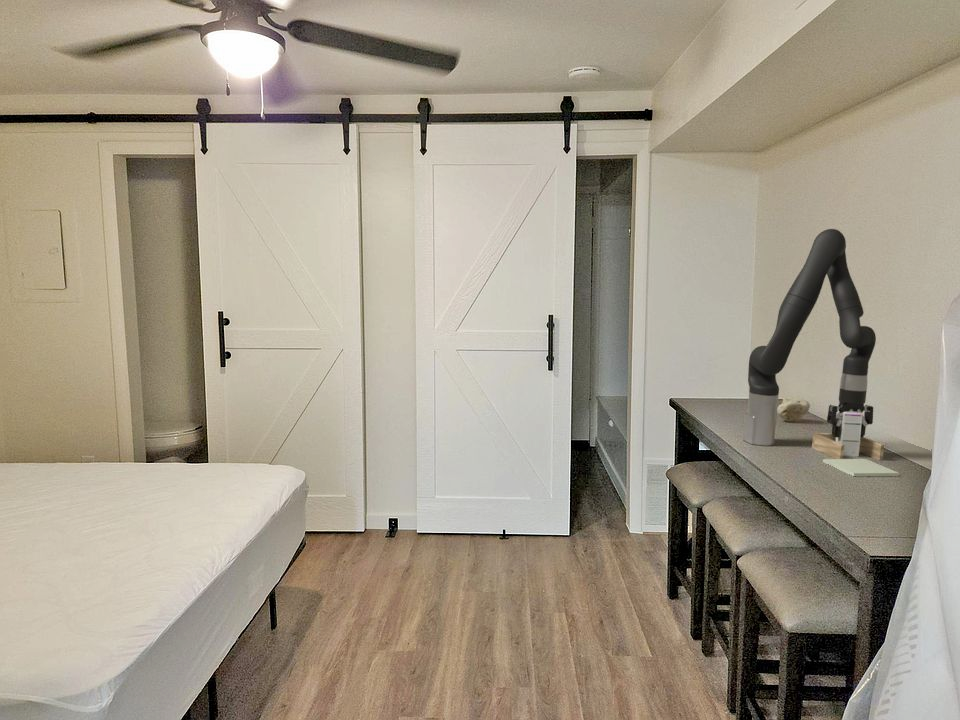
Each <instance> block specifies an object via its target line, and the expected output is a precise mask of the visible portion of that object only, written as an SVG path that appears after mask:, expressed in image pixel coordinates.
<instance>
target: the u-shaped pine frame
mask: <svg viewBox="0 0 960 720" xmlns="http://www.w3.org/2000/svg"><path fill="white" fill-rule="evenodd" d="M835 440H836V437H834V436H833V435H832V432H829V433H828V432H826V433H825V432H823V433H822V432H817V433H815V432H813V433H812V441H811V442H812V443H811V448H812V449H814V450H816V451H818V452H820V453H822V452H823V453H822V454H824V455H826V456H830V457H831V458H833V457H834V458H833V459H844V456H843V454H844V445H843V444H841V443H839V442H836V441H835ZM884 448H885V444H883V443H881V442H877V441H875V440H872V439H870V438H867V437H860V447H859V453H861V454H863V455H865V456H869V457H871V458H873V459H875V460H878V461H883V459H884V451H885V449H884Z"/></svg>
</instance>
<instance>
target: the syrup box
mask: <svg viewBox="0 0 960 720" xmlns="http://www.w3.org/2000/svg"><path fill="white" fill-rule="evenodd" d="M838 412H839V410H838ZM838 412H837V413H838ZM862 415H863V412H862V413H861V412H856V411H853V412H843V413H841V414H840V417H843V421H842V423H841V424H840V432H839V437H836V440H835V441H836V442H839V443H841V444H843V445H844V454H843V457H855V458H856V457H857V458H858V457H859V456H860V455H859V454H860V452H859V447H860V436H861V425H862Z"/></svg>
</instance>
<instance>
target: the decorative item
mask: <svg viewBox="0 0 960 720" xmlns="http://www.w3.org/2000/svg"><path fill="white" fill-rule="evenodd" d="M810 407H811V405H810V402H809V401H807V400H806V399H804V398H802V397H793V398H783V400H782V402H781V404H778V406H777V415H778V416H779V417H781V419H782V420H784V421H785V422H788V423H792V422H795V421H797V420H801V419H802V418H803V417H804V416H805V415H807V414H809V410H810Z"/></svg>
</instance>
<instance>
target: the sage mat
mask: <svg viewBox="0 0 960 720" xmlns="http://www.w3.org/2000/svg"><path fill="white" fill-rule="evenodd" d="M822 462H823V463H824V464H826V465H828V464H829V466H830V465H831V467H832V466H833V467H832V468H834V467H835V468H834V469H836V468H837V470H839V471H841V472H843V473H845V474H848V475H849V474H850V475H849V476H851V475H852V476H851V477H853V476H856V477H855V478H857V477H859V478H861V477H868V476H870V477H899V474H900V473H899V472H898V471H895V470H892V469H891V468H888V467H885V466H883V465H881V464H878V463H876V462H874V461H871V460H870V459H867V458H843V459H836V458H824V459H823V461H822Z"/></svg>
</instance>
